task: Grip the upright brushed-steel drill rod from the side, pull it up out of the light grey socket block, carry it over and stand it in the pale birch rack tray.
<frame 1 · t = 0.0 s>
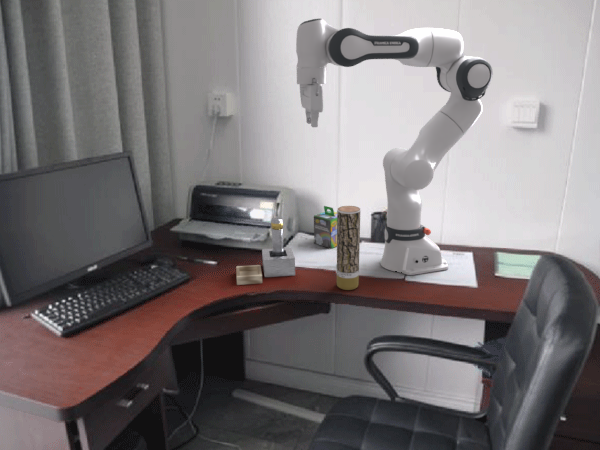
hand: (311, 125, 153), 48 cm above the table, tool pointing down, fingers open, 8 cm apart
paper tube: (347, 286, 156), on the table
socket block: (278, 270, 168), on the table
birch rack: (249, 278, 162), on the table
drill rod: (277, 245, 165), in the socket block
chalk box: (330, 243, 193), on the table
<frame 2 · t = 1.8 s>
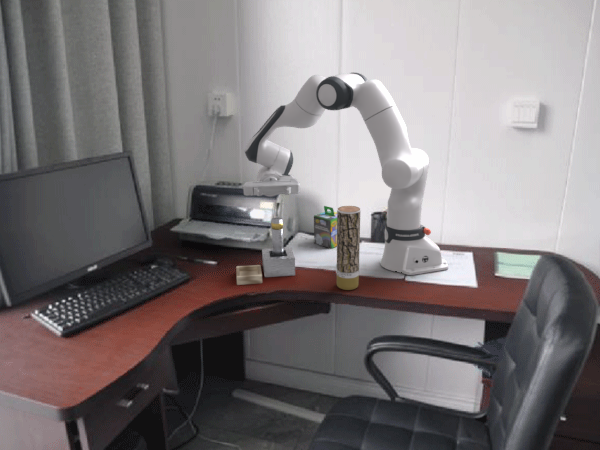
hand: (273, 193, 172), 24 cm above the table, tool horizontal, fingers open, 8 cm apart
nothing on the table moved.
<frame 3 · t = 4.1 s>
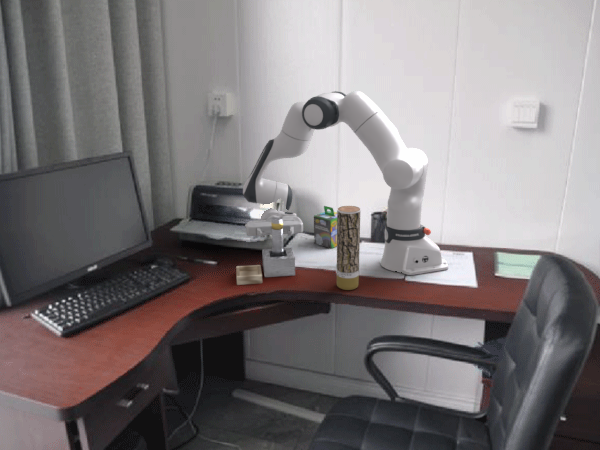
hand: (276, 234, 172), 10 cm above the table, tool horizontal, fingers open, 8 cm apart
nothing on the table moved.
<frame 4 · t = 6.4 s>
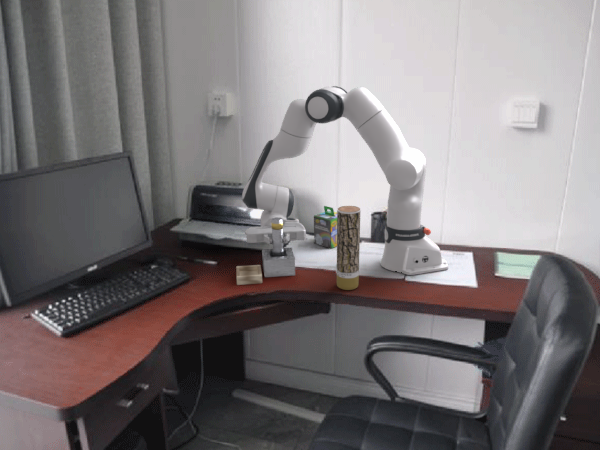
hand: (277, 241, 164), 11 cm above the table, tool horizontal, fingers closed on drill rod, 4 cm apart
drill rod: (277, 245, 165), in the socket block, touching gripper
everything else where it was.
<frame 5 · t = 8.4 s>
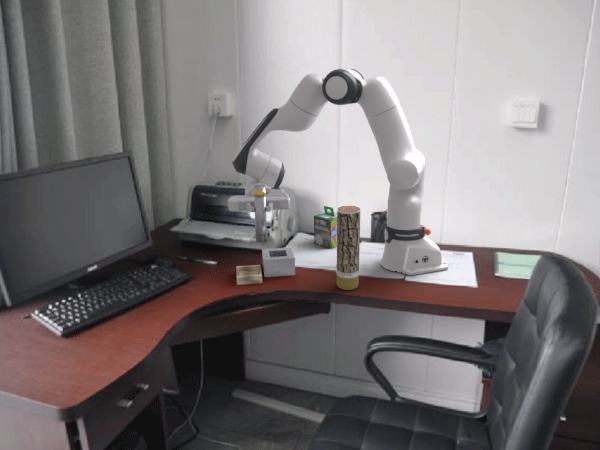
hand: (260, 209, 158), 22 cm above the table, tool horizontal, fingers closed on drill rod, 4 cm apart
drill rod: (260, 213, 159), point 21 cm above the table, touching gripper
everything else where it was.
when the fingers open (13 cm above the table, at t = 10.8 s): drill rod stays where it is, resting on birch rack.
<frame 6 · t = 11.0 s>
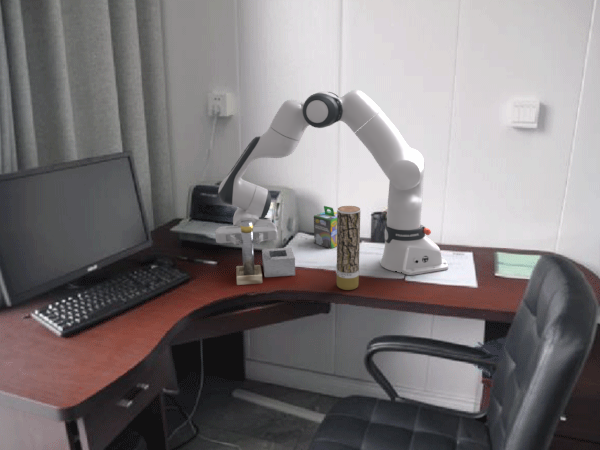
hand: (247, 241, 157), 13 cm above the table, tool horizontal, fingers open, 5 cm apart
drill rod: (247, 248, 159), in the birch rack, point 10 cm above the table
everything else where it was.
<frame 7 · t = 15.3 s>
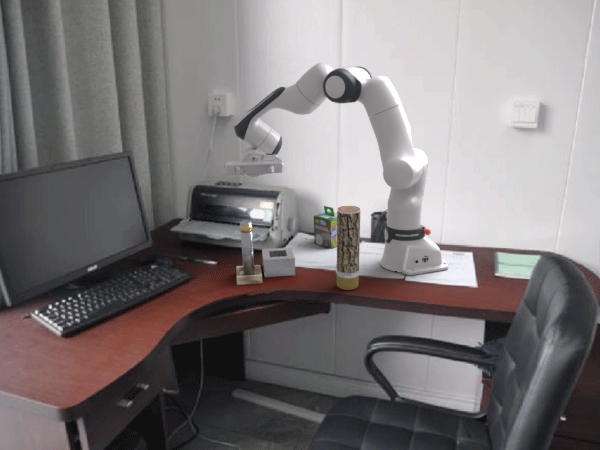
hand: (255, 171, 166), 32 cm above the table, tool horizontal, fingers open, 8 cm apart
nothing on the table moved.
at the end: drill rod inside the target area on the birch rack (0.1 cm from its centre), point 10.2 cm above the birch rack's base; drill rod tilted 1°; the gripper is holding nothing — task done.
